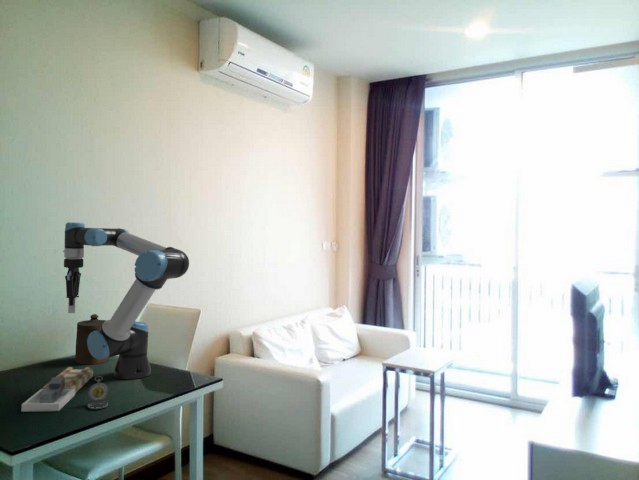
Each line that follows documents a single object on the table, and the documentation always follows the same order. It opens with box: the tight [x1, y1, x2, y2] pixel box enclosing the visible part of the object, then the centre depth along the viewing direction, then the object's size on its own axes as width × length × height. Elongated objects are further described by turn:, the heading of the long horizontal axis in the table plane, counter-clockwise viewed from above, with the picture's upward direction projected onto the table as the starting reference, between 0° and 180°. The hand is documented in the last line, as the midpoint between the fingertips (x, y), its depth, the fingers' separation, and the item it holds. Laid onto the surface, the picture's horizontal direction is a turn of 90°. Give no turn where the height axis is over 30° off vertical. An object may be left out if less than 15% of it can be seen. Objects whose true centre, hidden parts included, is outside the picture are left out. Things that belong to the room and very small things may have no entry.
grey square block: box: [46, 387, 61, 401], centre depth 179 cm, size 4×4×4 cm
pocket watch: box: [87, 375, 109, 410], centre depth 175 cm, size 8×8×10 cm
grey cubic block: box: [40, 390, 56, 403], centre depth 175 cm, size 4×4×4 cm
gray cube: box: [48, 376, 65, 393], centre depth 183 cm, size 4×4×4 cm
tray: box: [20, 388, 76, 413], centre depth 176 cm, size 16×12×2 cm
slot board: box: [42, 366, 94, 394], centre depth 196 cm, size 24×11×4 cm, turn 9°
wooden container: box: [74, 313, 110, 365], centre depth 233 cm, size 15×15×22 cm
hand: (72, 312), depth 211 cm, fingers closed
